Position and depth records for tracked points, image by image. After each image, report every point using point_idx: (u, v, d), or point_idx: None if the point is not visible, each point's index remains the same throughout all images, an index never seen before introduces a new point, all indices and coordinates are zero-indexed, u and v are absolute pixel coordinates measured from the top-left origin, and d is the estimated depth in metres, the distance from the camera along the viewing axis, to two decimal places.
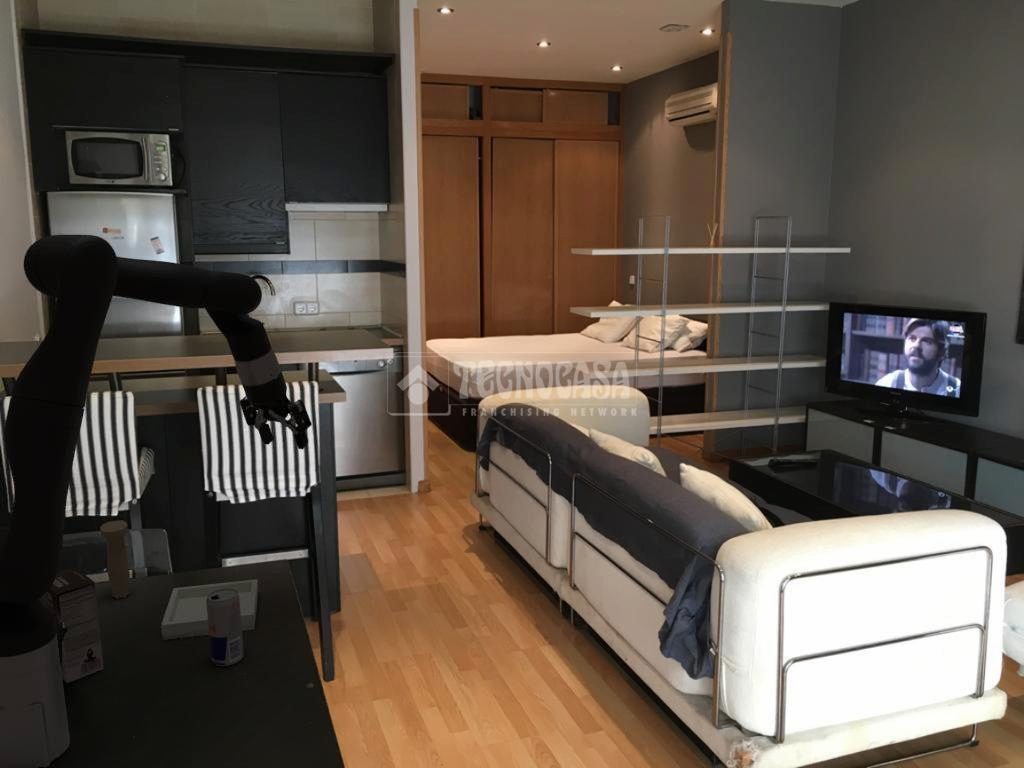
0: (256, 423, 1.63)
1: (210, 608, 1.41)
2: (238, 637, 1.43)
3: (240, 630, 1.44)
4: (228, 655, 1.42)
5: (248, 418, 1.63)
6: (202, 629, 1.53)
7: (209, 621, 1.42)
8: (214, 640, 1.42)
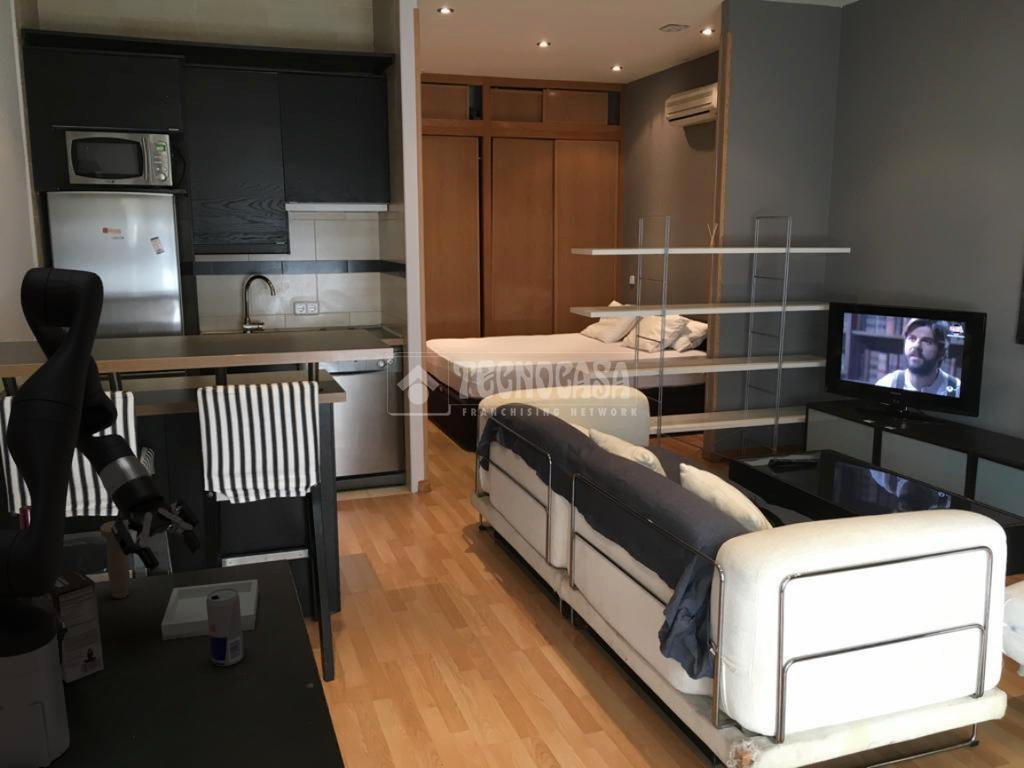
0: (141, 540, 1.45)
1: (210, 608, 1.41)
2: (238, 637, 1.43)
3: (240, 630, 1.44)
4: (228, 655, 1.42)
5: (130, 538, 1.44)
6: (202, 629, 1.53)
7: (209, 621, 1.42)
8: (215, 640, 1.42)
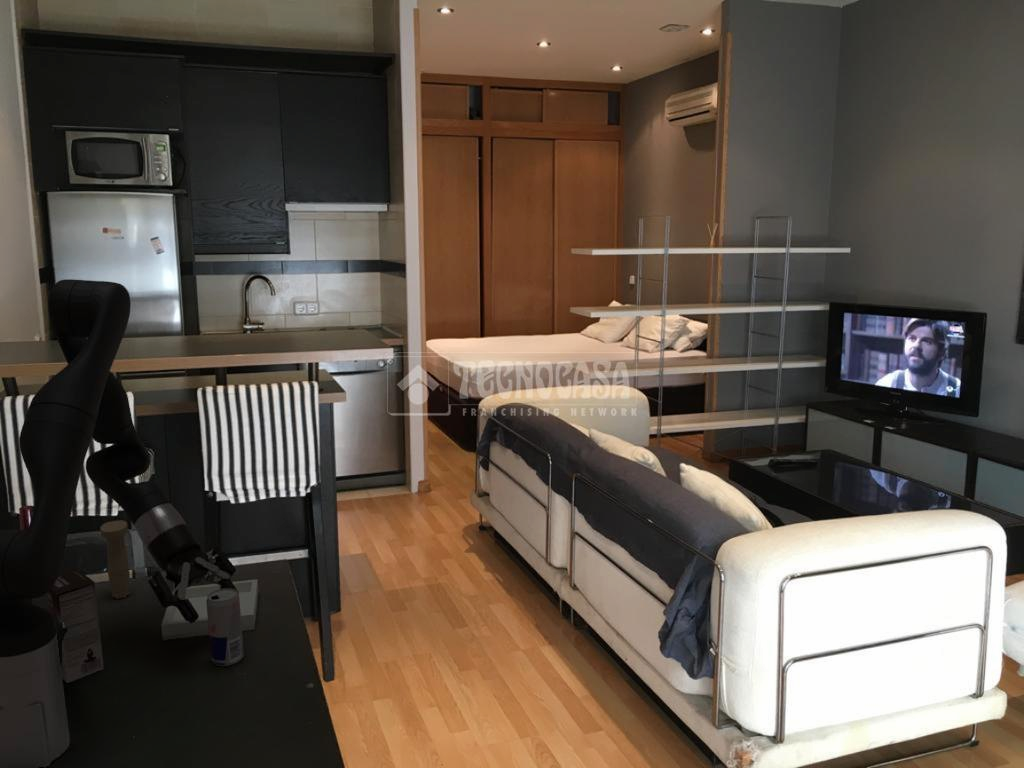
0: (180, 591, 1.41)
1: (210, 608, 1.41)
2: (238, 637, 1.43)
3: (240, 630, 1.44)
4: (228, 655, 1.42)
5: (169, 590, 1.40)
6: (202, 629, 1.53)
7: (209, 621, 1.42)
8: (215, 640, 1.42)
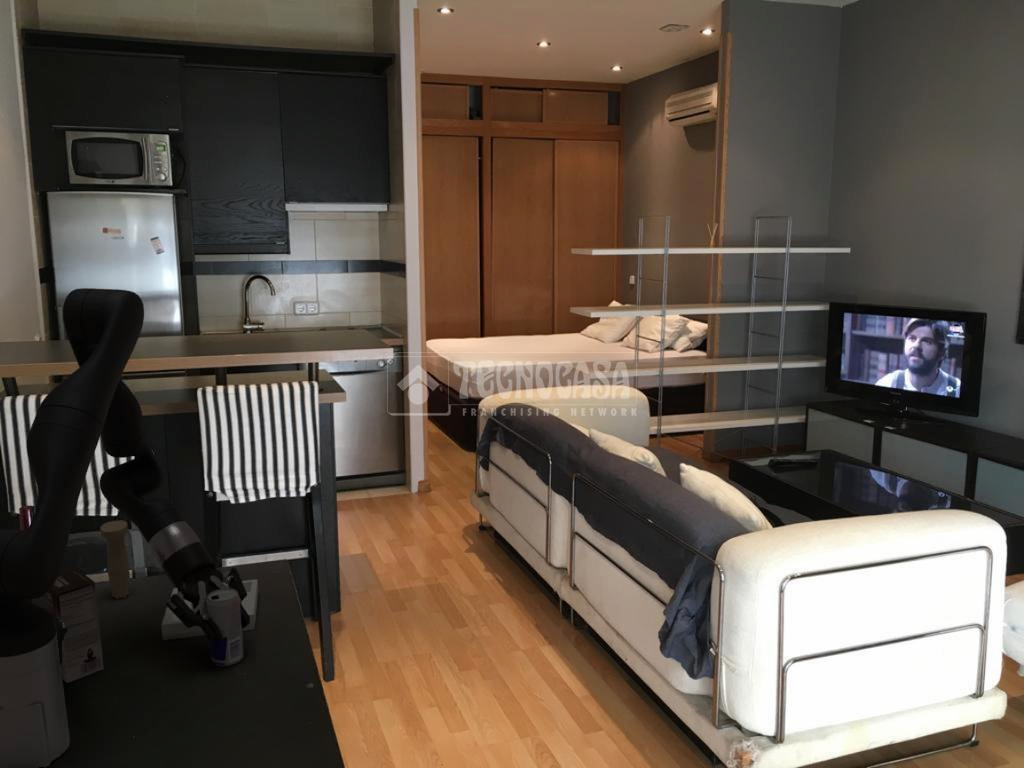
0: (202, 612, 1.41)
1: (210, 608, 1.41)
2: (238, 637, 1.43)
3: (240, 629, 1.44)
4: (228, 655, 1.42)
5: (191, 611, 1.40)
6: None
7: None
8: None
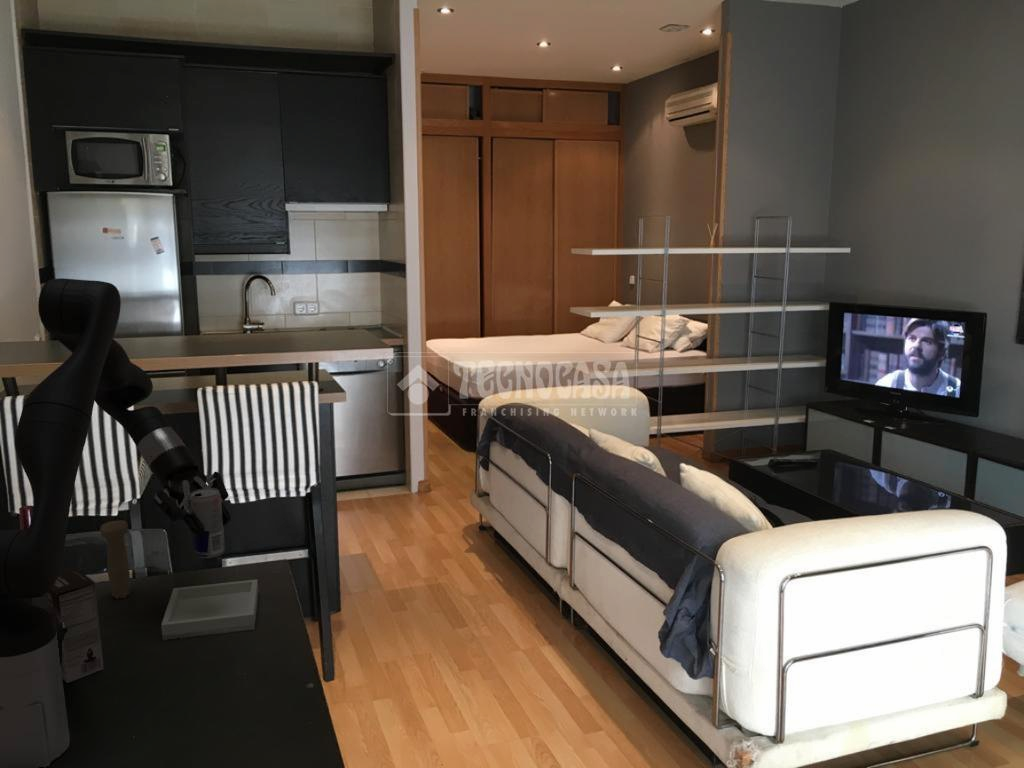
0: (186, 507, 1.53)
1: (193, 503, 1.53)
2: (219, 532, 1.56)
3: (221, 525, 1.56)
4: (210, 548, 1.55)
5: (175, 505, 1.52)
6: (202, 629, 1.53)
7: None
8: None
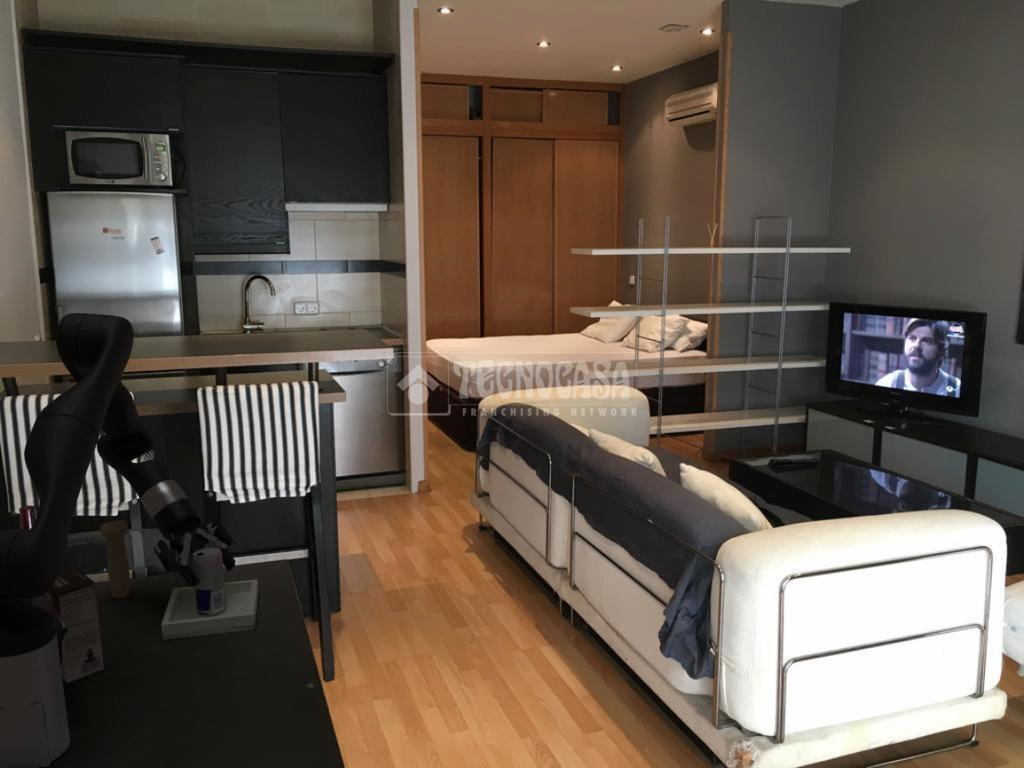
0: (182, 558, 1.56)
1: (196, 563, 1.57)
2: (221, 590, 1.59)
3: (223, 583, 1.60)
4: (212, 606, 1.58)
5: (172, 557, 1.55)
6: (202, 629, 1.53)
7: None
8: (200, 592, 1.58)
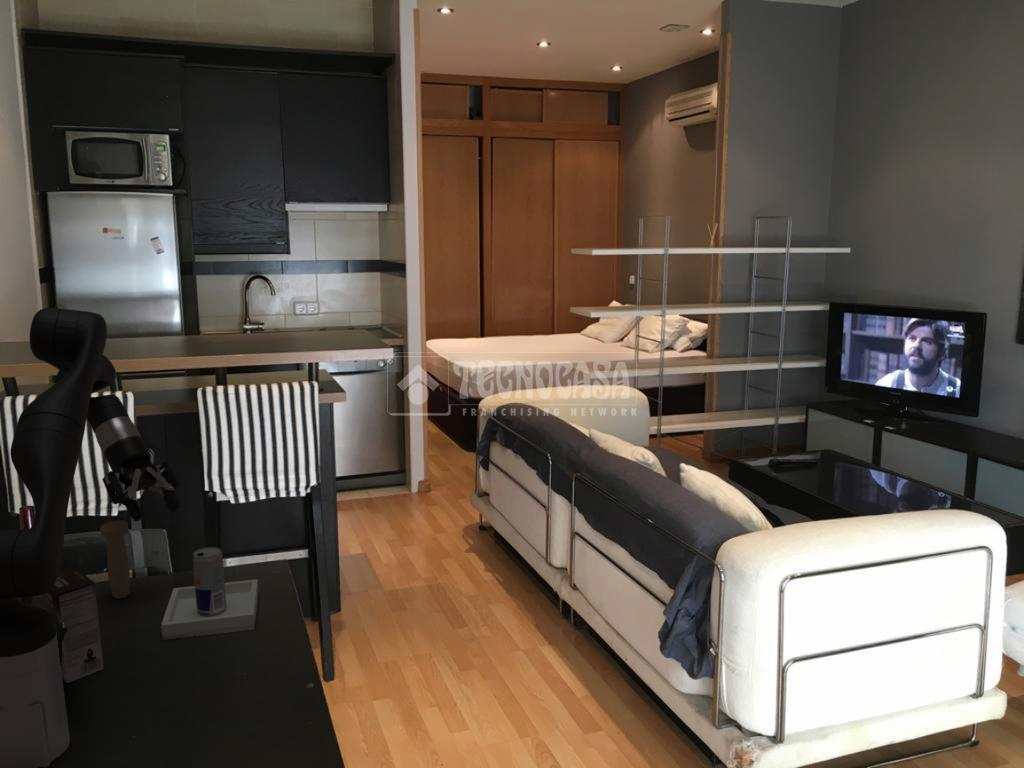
0: (130, 492, 1.59)
1: (196, 563, 1.57)
2: (221, 590, 1.59)
3: (223, 584, 1.60)
4: (212, 606, 1.58)
5: (120, 489, 1.58)
6: (202, 629, 1.53)
7: (195, 575, 1.58)
8: (200, 593, 1.58)
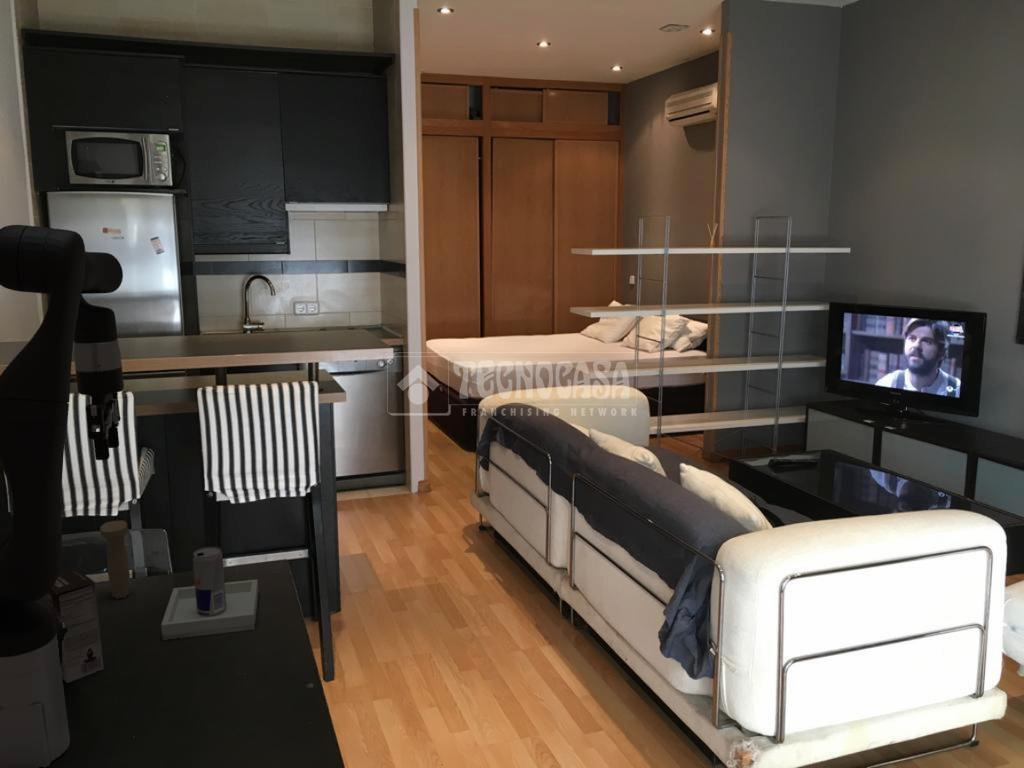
0: (106, 430, 1.48)
1: (196, 563, 1.57)
2: (221, 590, 1.59)
3: (223, 583, 1.60)
4: (212, 606, 1.58)
5: (104, 427, 1.46)
6: (202, 629, 1.53)
7: (195, 575, 1.58)
8: (200, 592, 1.58)
